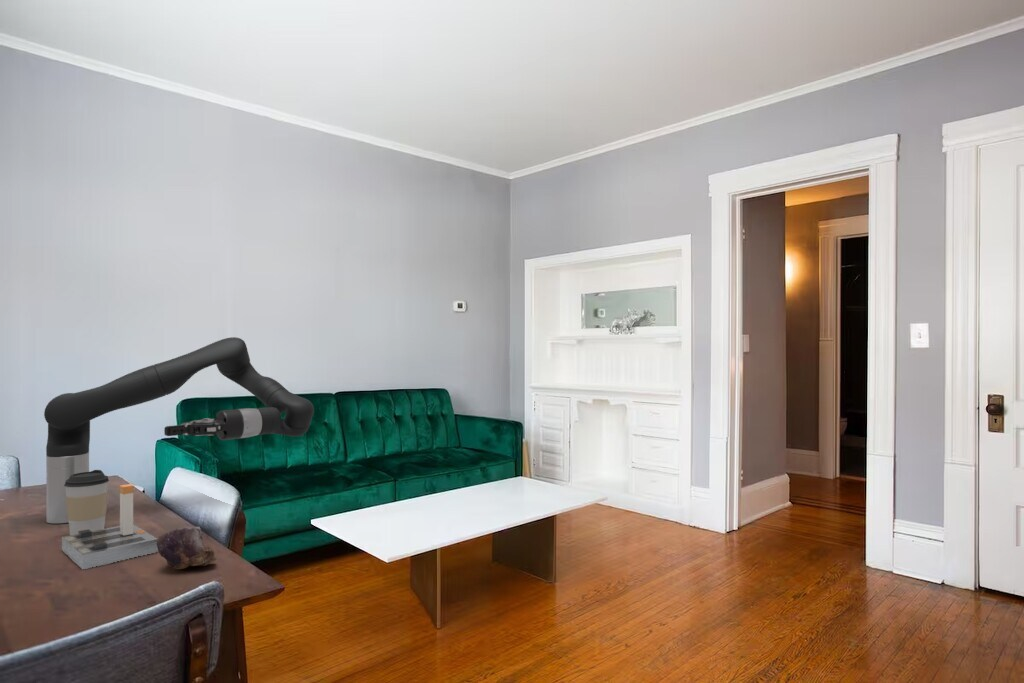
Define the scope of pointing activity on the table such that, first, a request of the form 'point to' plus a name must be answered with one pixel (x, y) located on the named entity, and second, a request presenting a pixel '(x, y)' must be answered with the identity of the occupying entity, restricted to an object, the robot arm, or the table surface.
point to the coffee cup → (86, 501)
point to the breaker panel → (107, 546)
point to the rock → (185, 548)
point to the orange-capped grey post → (126, 509)
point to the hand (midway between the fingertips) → (165, 431)
